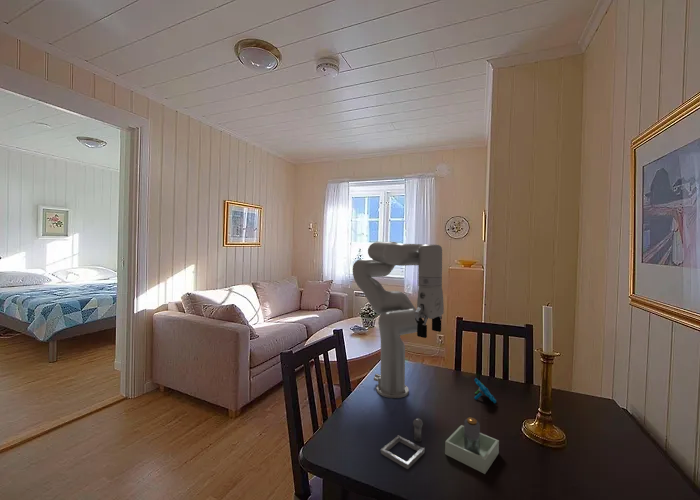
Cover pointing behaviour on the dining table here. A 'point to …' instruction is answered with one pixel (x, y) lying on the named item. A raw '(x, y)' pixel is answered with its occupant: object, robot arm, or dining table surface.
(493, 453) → the bin
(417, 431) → the grey piece
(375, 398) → the dining table surface
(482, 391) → the blue plastic angled piece
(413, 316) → the robot arm
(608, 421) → the dining table surface
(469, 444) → the grey cylinder
